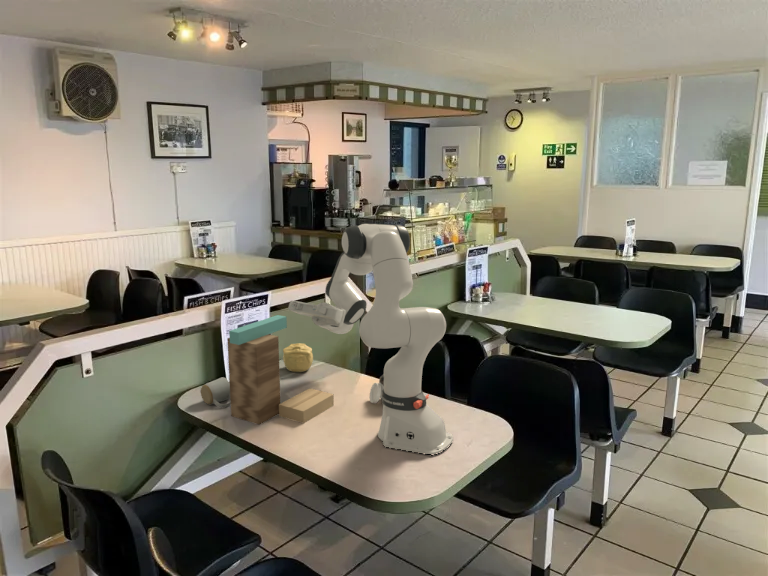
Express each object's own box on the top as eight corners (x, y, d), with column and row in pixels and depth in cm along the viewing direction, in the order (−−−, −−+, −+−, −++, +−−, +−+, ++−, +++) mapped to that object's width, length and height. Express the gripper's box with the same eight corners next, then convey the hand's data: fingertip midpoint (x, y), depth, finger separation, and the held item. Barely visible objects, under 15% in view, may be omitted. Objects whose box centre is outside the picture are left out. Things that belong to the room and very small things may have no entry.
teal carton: (286, 327, 194) (286, 316, 193) (239, 344, 175) (238, 332, 174) (278, 326, 196) (277, 315, 195) (229, 342, 177) (229, 330, 176)
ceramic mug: (199, 402, 198) (198, 380, 196) (220, 395, 204) (219, 374, 202) (217, 411, 191) (216, 389, 189) (238, 404, 197) (237, 382, 195)
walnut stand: (280, 413, 190) (278, 336, 184) (259, 424, 181) (256, 344, 176) (253, 405, 196) (250, 330, 190) (231, 416, 187) (227, 338, 182)
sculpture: (282, 375, 223) (281, 348, 221) (285, 364, 235) (284, 338, 233) (312, 374, 224) (311, 347, 222) (313, 364, 236) (313, 338, 233)
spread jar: (412, 403, 198) (412, 370, 196) (387, 412, 191) (387, 378, 188) (388, 392, 207) (388, 361, 204) (363, 401, 200) (363, 369, 197)
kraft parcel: (333, 405, 196) (333, 394, 195) (303, 423, 182) (303, 411, 181) (309, 399, 201) (309, 388, 200) (279, 416, 187) (278, 404, 186)
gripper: (303, 302, 217) (282, 292, 205) (349, 311, 208) (330, 300, 196) (298, 318, 216) (277, 309, 204) (345, 328, 207) (325, 318, 195)
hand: (303, 305), depth 200 cm, fingers open, 8 cm apart
